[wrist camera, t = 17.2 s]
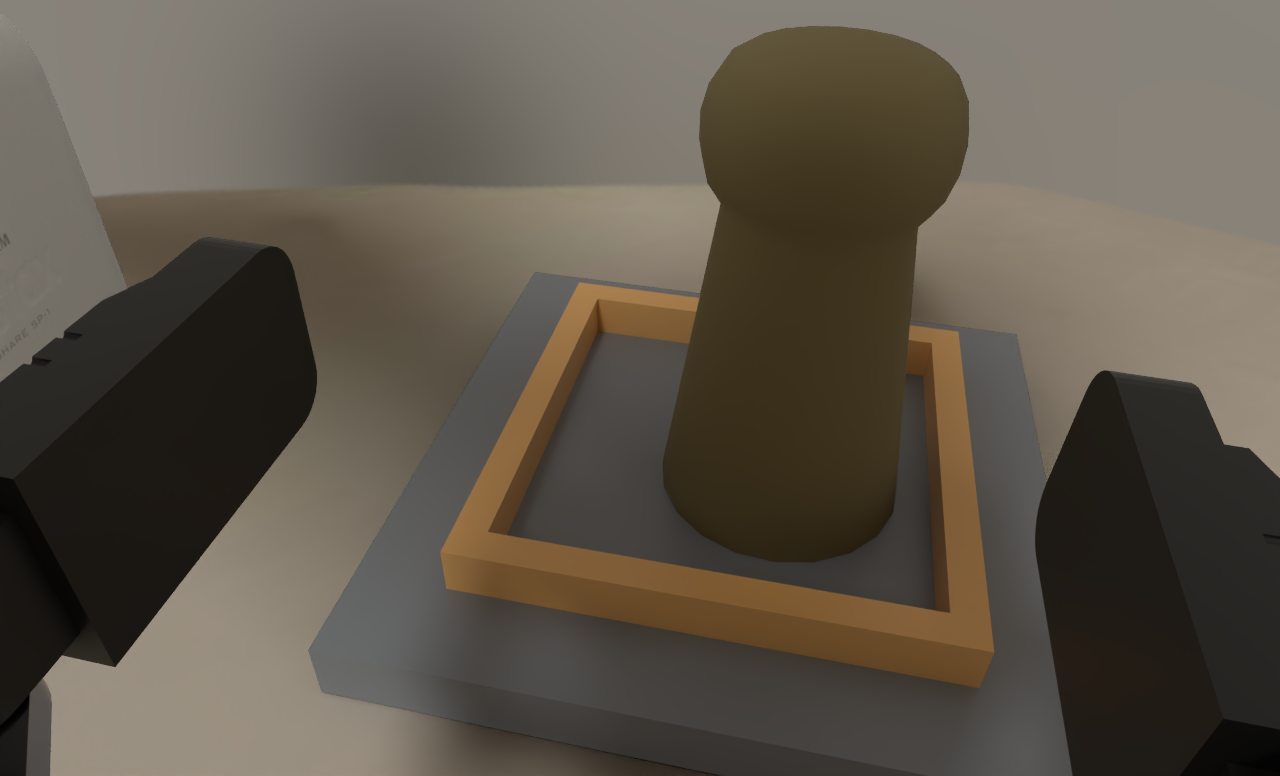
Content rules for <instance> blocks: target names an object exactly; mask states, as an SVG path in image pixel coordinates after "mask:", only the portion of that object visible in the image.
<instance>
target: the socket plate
mask: <svg viewBox="0 0 1280 776" xmlns="http://www.w3.org/2000/svg"><path fill="white" fill-rule="evenodd" d="M699 298H700V293H693V292H685V291H677V290H669V289H662V288H654V287H646V286H638V285H631V284H623V283H615V282H607V281H600V280H592V279H584V278H576V277H569V276H561V275H553V274H545V273H538V272H535V273H534V274H533V276H532V278H531V279H530V281H529V283H528V284H527V286H526V288H525V289H524V291H523V293H522V294H521V296H520V298H519V299H518V301H517V303H516V304H515V306H514V308H513V309H512V311H511V313H510V314H509V316H508V318H507V319H506V321H505V323H504V324H503V326H502V328H501V329H500V331H499V333H498V334H497V336H496V338H495V339H494V341H493V343H492V344H491V346H490V348H489V349H488V351H487V353H486V354H485V356H484V358H483V359H482V361H481V363H480V364H479V366H478V368H477V369H476V371H475V373H474V374H473V376H472V378H471V379H470V381H469V383H468V384H467V386H466V388H465V389H464V391H463V393H462V394H461V396H460V398H459V399H458V401H457V403H456V404H455V406H454V408H453V409H452V411H451V413H450V414H449V416H448V418H447V419H446V421H445V423H444V425H443V426H442V428H441V430H440V431H439V433H438V435H437V436H436V438H435V440H434V441H433V443H432V445H431V446H430V448H429V450H428V451H427V453H426V455H425V456H424V458H423V460H422V461H421V463H420V465H419V466H418V468H417V470H416V471H415V473H414V475H413V476H412V478H411V480H410V481H409V483H408V485H407V486H406V488H405V490H404V491H403V493H402V495H401V496H400V498H399V500H398V501H397V503H396V505H395V506H394V508H393V510H392V511H391V513H390V515H389V516H388V518H387V520H386V521H385V523H384V525H383V526H382V528H381V530H380V531H379V533H378V535H377V536H376V538H375V540H374V541H373V543H372V545H371V546H370V548H369V550H368V551H367V553H366V555H365V556H364V558H363V560H362V561H361V563H360V565H359V566H358V568H357V570H356V571H355V573H354V575H353V576H352V578H351V580H350V581H349V583H348V585H347V586H346V588H345V590H344V591H343V593H342V595H341V596H340V598H339V600H338V601H337V603H336V605H335V606H334V608H333V610H332V611H331V613H330V615H329V616H328V618H327V620H326V621H325V623H324V625H323V626H322V628H321V630H320V631H319V633H318V635H317V636H316V638H315V640H314V641H313V643H312V645H311V646H310V648H309V650H308V651H309V654H310V657H311V660H312V663H313V666H314V669H315V672H316V675H317V678H318V682H319V685H320V688H321V691H322V692H324V693H329V694H334V695H338V696H343V697H348V698H353V699H357V700H362V701H367V702H372V703H376V704H381V705H386V706H391V707H396V708H400V709H405V710H410V711H415V712H419V713H424V714H429V715H434V716H438V717H443V718H448V719H453V720H458V721H462V722H467V723H472V724H477V725H481V726H486V727H491V728H496V729H500V730H505V731H510V732H515V733H519V734H524V735H529V736H534V737H539V738H543V739H548V740H553V741H558V742H562V743H567V744H572V745H577V746H581V747H586V748H591V749H596V750H601V751H605V752H610V753H615V754H620V755H624V756H629V757H634V758H639V759H643V760H648V761H653V762H658V763H663V764H667V765H672V766H677V767H682V768H686V769H691V770H696V771H701V772H705V773H710V774H715V775H720V776H1073V775H1072V769H1071V763H1070V757H1069V751H1068V745H1067V739H1066V733H1065V727H1064V721H1063V715H1062V709H1061V703H1060V697H1059V691H1058V685H1057V679H1056V673H1055V667H1054V661H1053V655H1052V649H1051V643H1050V637H1049V631H1048V625H1047V619H1046V613H1045V607H1044V601H1043V595H1042V589H1041V583H1040V577H1039V571H1038V565H1037V559H1036V552H1035V529H1036V520H1037V513H1038V508H1039V504H1040V500H1041V497H1042V493H1043V491H1044V488H1045V485H1046V478H1045V473H1044V468H1043V463H1042V458H1041V453H1040V449H1039V444H1038V439H1037V434H1036V429H1035V424H1034V419H1033V414H1032V409H1031V404H1030V399H1029V394H1028V389H1027V384H1026V379H1025V374H1024V369H1023V364H1022V359H1021V354H1020V349H1019V344H1018V339H1017V334H1010V333H1003V332H995V331H987V330H979V329H972V328H964V327H956V326H948V325H941V324H933V323H925V322H917V321H910V329H909V341H908V353H907V365H906V378H905V390H904V402H903V414H902V426H901V438H900V450H899V462H898V474H897V486H896V495H895V503H894V511H893V514H892V516H891V517H890V518H889V520H888V521H887V523H886V524H885V526H884V527H883V529H882V530H881V532H880V533H879V535H878V536H877V537H875V538H873V539H872V540H870V541H869V542H867V543H866V544H864V545H862V546H861V547H859V548H858V549H856V550H855V551H853V552H852V553H849V554H845V555H841V556H837V557H833V558H830V559H826V560H822V561H818V562H772V561H768V560H764V559H760V558H756V557H751V556H747V555H743V554H739V553H735V552H733V551H731V550H729V549H727V548H725V547H724V546H722V545H720V544H718V543H716V542H714V541H712V540H710V539H708V538H706V537H704V536H702V535H701V534H700V533H699V532H698V531H697V530H695V529H694V528H693V527H692V526H691V525H690V524H689V523H688V522H687V521H686V520H685V519H684V518H683V517H682V516H681V515H679V514H678V513H677V511H676V509H675V507H674V505H673V504H672V502H671V500H670V498H669V496H668V494H667V492H666V490H665V488H664V480H663V457H664V453H665V448H666V444H667V440H668V435H669V431H670V426H671V422H672V417H673V413H674V408H675V404H676V400H677V395H678V391H679V386H680V382H681V377H682V373H683V369H684V364H685V360H686V355H687V351H688V346H689V342H690V338H691V333H692V329H693V324H694V320H695V315H696V311H697V306H698V302H699Z"/></svg>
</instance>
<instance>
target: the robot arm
mask: <svg viewBox="0 0 1280 776" xmlns="http://www.w3.org/2000/svg"><path fill="white" fill-rule="evenodd" d="M316 386H317V370H316V364H315V360H314V355H313V351H312V347H311V343H310V338H309V334H308V330H307V325H306V321H305V317H304V312H303V308H302V304H301V300H300V295H299V291H298V287H297V282H296V278H295V274H294V270H293V267H292V264H291V261H290V259H289V258H288V256H287V255H286V253H285V252H284V251H283V250H281V249H279V248H278V247H273V246H266V245H259V244H252V243H246V242H239V241H232V240H225V239H218V238H211V237H207V238H202V239H200V240H198V241H196V242H195V243H193V244H192V245H191V246H190V247H189V248H187V249H186V250H185V251H184V252H182V253H181V254H180V255H179V256H178V257H176V258H175V259H174V260H173V261H172V262H170V263H169V264H168V265H167V266H166V267H164V268H163V269H162V270H161V271H159V272H158V273H157V274H156V275H155V276H153V277H151V278H149V279H147V280H145V281H143V282H141V283H138V284H136V285H134V286H132V287H130V288H128V289H126V290H123V291H121V292H119V293H117V294H115V295H113V296H110V297H108V298H106V299H104V300H102V301H101V302H99V303H98V304H97V305H96V306H94V307H93V308H92V309H91V310H89V311H88V312H87V313H86V314H84V315H83V316H82V317H81V318H79V319H78V320H77V321H76V322H74V323H73V324H72V325H71V326H70V327H68V328H67V329H66V330H65V331H64V336H63V338H57V337H56V338H55V339H53V340H52V341H51V342H50V343H48V344H47V345H46V346H45V347H43V348H42V349H41V350H40V351H38V352H37V353H36V354H35V355H33V356H32V362H31V364H30V365H29V364H22V365H21V366H20V367H18V368H17V369H16V370H15V371H13V372H12V373H11V374H10V375H8V376H7V377H6V378H5V379H3V380H2V381H1V382H0V776H50V747H51V711H52V702H51V693H50V691H49V688H48V686H47V684H46V682H45V681H44V679H43V677H44V676H45V675H46V674H47V672H48V671H49V670H50V669H51V668H52V666H53V665H54V664H55V663H56V662H57V660H58V659H59V658H60V657H61V656H62V655H63V656H68V657H72V658H77V659H81V660H86V661H90V662H95V663H99V664H104V665H108V666H113V667H116V666H117V664H118V663H119V662H120V660H121V659H122V658H123V656H124V655H125V654H126V653H127V651H128V650H129V649H130V647H131V646H132V645H133V644H134V642H135V641H136V640H137V638H138V637H139V636H140V635H141V633H142V632H143V631H144V629H145V628H146V627H147V626H148V624H149V623H150V622H151V620H152V619H153V618H154V616H155V615H156V614H157V613H158V611H159V610H160V609H161V607H162V606H163V605H164V604H165V602H166V601H167V600H168V598H169V597H170V596H171V595H172V593H173V592H174V591H175V589H176V588H177V587H178V585H179V584H180V583H181V582H182V580H183V579H184V578H185V576H186V575H187V574H188V573H189V571H190V570H191V569H192V567H193V566H194V565H195V564H196V562H197V561H198V560H199V558H200V557H201V556H202V555H203V553H204V552H205V551H206V549H207V548H208V547H209V545H210V544H211V543H212V542H213V540H214V539H215V538H216V536H217V535H218V534H219V533H220V531H221V530H222V529H223V527H224V526H225V525H226V524H227V522H228V521H229V520H230V518H231V517H232V516H233V514H234V513H235V512H236V511H237V509H238V508H239V507H240V505H241V504H242V503H243V502H244V500H245V499H246V498H247V496H248V495H249V494H250V493H251V491H252V490H253V489H254V487H255V486H256V485H257V484H258V482H259V481H260V480H261V478H262V477H263V476H264V474H265V473H266V472H267V471H268V469H269V468H270V467H271V465H272V464H273V463H274V462H275V460H276V459H277V458H278V456H279V455H280V454H281V453H282V451H283V450H284V449H285V447H286V446H287V445H288V443H289V442H290V441H291V440H292V438H293V437H294V436H295V434H296V433H297V432H298V431H299V429H300V428H301V427H302V425H303V424H304V422H305V421H306V419H307V417H308V415H309V413H310V411H311V408H312V405H313V402H314V398H315V394H316ZM1035 552H1036V559H1037V565H1038V571H1039V577H1040V583H1041V589H1042V595H1043V601H1044V607H1045V613H1046V619H1047V625H1048V631H1049V637H1050V643H1051V649H1052V655H1053V661H1054V667H1055V673H1056V679H1057V685H1058V691H1059V697H1060V703H1061V709H1062V715H1063V721H1064V727H1065V733H1066V739H1067V745H1068V751H1069V757H1070V763H1071V769H1072V775H1073V776H1280V478H1279V477H1278V476H1277V475H1276V474H1275V473H1274V472H1273V471H1272V470H1271V469H1270V468H1269V467H1267V466H1266V465H1265V464H1264V463H1263V462H1262V461H1261V460H1260V459H1259V458H1258V457H1257V456H1256V455H1255V454H1254V453H1253V452H1252V451H1251V450H1250V449H1249V448H1243V447H1236V446H1230V445H1224V443H1223V441H1222V439H1221V436H1220V434H1219V432H1218V430H1217V427H1216V425H1215V423H1214V420H1213V418H1212V416H1211V413H1210V411H1209V409H1208V407H1207V404H1206V402H1205V400H1204V397H1203V395H1202V393H1201V391H1200V390H1199V388H1198V387H1197V386H1196V385H1194V384H1192V383H1188V382H1181V381H1175V380H1168V379H1161V378H1154V377H1147V376H1140V375H1134V374H1127V373H1120V372H1113V371H1105V370H1104V371H1101V372H1100V373H1098V374H1097V375H1096V376H1095V377H1094V379H1093V380H1092V382H1091V383H1090V385H1089V387H1088V389H1087V391H1086V393H1085V395H1084V398H1083V400H1082V402H1081V405H1080V407H1079V409H1078V412H1077V414H1076V416H1075V419H1074V421H1073V423H1072V425H1071V428H1070V430H1069V432H1068V435H1067V437H1066V439H1065V442H1064V444H1063V446H1062V449H1061V451H1060V453H1059V455H1058V458H1057V460H1056V462H1055V465H1054V467H1053V469H1052V472H1051V474H1050V476H1049V479H1048V481H1047V483H1046V485H1045V488H1044V491H1043V493H1042V497H1041V500H1040V504H1039V508H1038V513H1037V520H1036V529H1035Z"/></svg>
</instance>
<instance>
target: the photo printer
mask: <svg viewBox="0 0 1280 776" xmlns="http://www.w3.org/2000/svg"><path fill="white" fill-rule="evenodd" d="M126 289H128V288H127V285H126V283H125V280H124V277H123V275H122V272H121V270H120V267H119V265H118V262H117V259H116V257H115V254H114V251H113V249H112V246H111V244H110V241H109V238H108V236H107V233H106V230H105V228H104V225H103V223H102V220H101V217H100V214H99V212H98V210H97V207H96V204H95V201H94V198H93V196H92V194H91V191H90V189H89V186H88V184H87V181H86V178H85V176H84V173H83V171H82V168H81V166H80V163H79V160H78V158H77V155H76V153H75V150H74V148H73V145H72V142H71V140H70V138H69V135H68V132H67V129H66V127H65V124H64V122H63V119H62V116H61V114H60V111H59V109H58V106H57V104H56V101H55V99H54V96H53V94H52V91H51V88H50V86H49V83H48V80H47V78H46V75H45V73H44V70H43V68H42V66H41V64H40V62H39V60H38V58H37V56H36V54H35V53H34V51H33V50H32V48H31V47H30V45H29V43H28V42H27V41H26V40H25V38H24V37H23V36H22V35H21V33H20V32H19V31H18V29H17V28H16V27H15V26H14V25H13V24H12V23H11V22H10V21H9V20H8V19H7V18H6V17H5V16H4V15H3V14H2V13H1V12H0V382H1V381H2V380H3V379H5V378H6V377H7V376H8V375H10V374H11V373H12V372H13V371H15V370H16V369H17V368H18V367H20V366H21V365H22V364H29V365H30V364H31V362H32V356H33V355H35V354H36V353H37V352H38V351H40V350H41V349H42V348H43V347H45V346H46V345H47V344H48V343H50V342H51V341H52V340H53V339H55V338H56V337H57V338H63V336H64V331H65V330H66V329H67V328H68V327H70V326H71V325H72V324H73V323H74V322H76V321H77V320H78V319H79V318H81V317H82V316H83V315H84V314H86V313H87V312H88V311H89V310H91V309H92V308H93V307H94V306H96V305H97V304H98V303H99V302H101V301H102V300H104V299H106V298H108V297H110V296H113V295H115V294H117V293H119V292H121V291H123V290H126Z"/></svg>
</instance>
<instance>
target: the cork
mask: <svg viewBox="0 0 1280 776" xmlns="http://www.w3.org/2000/svg"><path fill="white" fill-rule="evenodd" d="M968 136H969V101H968V98H967V95H966V93H965V90H964V87H963V84H962V81H961V79H960V76H959V74H958V73H957V72H956V71H955V70H954V69H953V67H952V66H951V65H950V64H949V63H948V62H947V61H945V60H944V59H943V58H942V57H941V56H939V55H938V54H937V53H936V52H934V51H932V50H930V49H928V48H927V47H925V46H923V45H921V44H919V43H916V42H914V41H911V40H908V39H905V38H902V37H899V36H896V35H891V34H886V33H882V32H877V31H872V30H866V29H857V28H848V27H831V26H830V27H829V26H828V27H827V26H808V27H796V28H785V29H780V30H776V31H772V32H767V33H764V34H762V35H759V36H757V37H755V38H753V39H751V40H749V41H747V42H746V43H743V44H742V45H740V46H738V47H736V48H734V49H733V50H732V51H731V52H730V54H729V55H728V56H727V58H726V59H725V61H724V62H723V64H722V65H721V66H720V68H719V69H718V71H717V72H716V74H715V75H714V77H713V78H712V79H711V81H710V82H709V85H708V88H707V91H706V94H705V97H704V101H703V104H702V107H701V111H700V133H699V139H700V146H701V152H702V158H703V163H704V168H705V173H706V178H707V183H708V184H709V186H710V188H711V189H712V191H713V192H714V194H715V195H716V197H717V198H718V200H719V201H720V203H721V204H720V209H719V213H718V218H717V222H716V227H715V231H714V236H713V240H712V244H711V249H710V253H709V258H708V262H707V267H706V271H705V275H704V280H703V284H702V289H701V293H700V298H699V302H698V306H697V311H696V315H695V320H694V324H693V329H692V333H691V338H690V342H689V346H688V351H687V355H686V360H685V364H684V369H683V373H682V377H681V382H680V386H679V391H678V395H677V400H676V404H675V408H674V413H673V417H672V422H671V426H670V431H669V435H668V440H667V444H666V448H665V453H664V457H663V480H664V488H665V490H666V492H667V494H668V496H669V498H670V500H671V502H672V504H673V505H674V507H675V509H676V511H677V513H678V514H679V515H681V516H682V517H683V518H684V519H685V520H686V521H687V522H688V523H689V524H690V525H691V526H692V527H693V528H694V529H695V530H697V531H698V532H699V533H700V534H701V535H702V536H704V537H706V538H708V539H710V540H712V541H714V542H716V543H718V544H720V545H722V546H724V547H725V548H727V549H729V550H731V551H733V552H735V553H739V554H743V555H747V556H751V557H756V558H760V559H764V560H768V561H772V562H818V561H822V560H826V559H830V558H833V557H837V556H841V555H845V554H849V553H852V552H853V551H855V550H856V549H858V548H859V547H861V546H862V545H864V544H866V543H867V542H869V541H870V540H872V539H873V538H875V537H877V536H878V535H879V533H880V532H881V530H882V529H883V527H884V526H885V524H886V523H887V521H888V520H889V518H890V517H891V516H892V514H893V511H894V503H895V495H896V486H897V474H898V462H899V450H900V438H901V426H902V414H903V402H904V390H905V378H906V365H907V353H908V341H909V329H910V317H911V305H912V293H913V281H914V269H915V257H916V245H917V232H918V227H919V226H920V225H921V224H922V223H923V222H925V221H926V220H927V219H928V218H929V217H931V216H932V215H933V214H934V213H935V212H936V211H937V210H938V209H939V208H940V207H941V206H942V205H943V204H944V203H945V201H946V199H947V197H948V196H949V194H950V192H951V190H952V188H953V187H954V185H955V183H956V181H957V179H958V178H959V176H960V173H961V169H962V165H963V162H964V158H965V154H966V150H967V147H968Z"/></svg>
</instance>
